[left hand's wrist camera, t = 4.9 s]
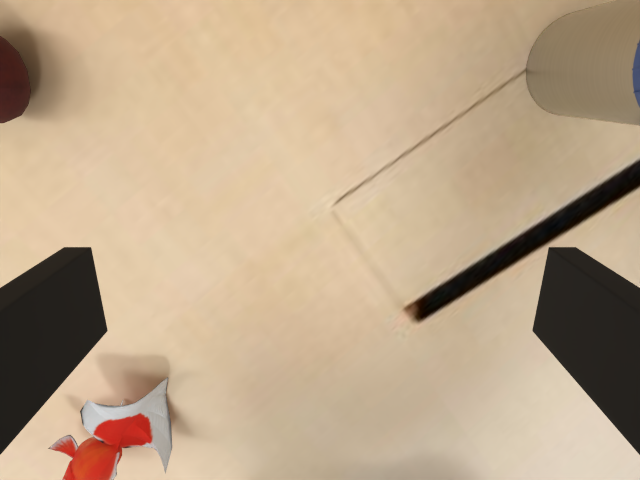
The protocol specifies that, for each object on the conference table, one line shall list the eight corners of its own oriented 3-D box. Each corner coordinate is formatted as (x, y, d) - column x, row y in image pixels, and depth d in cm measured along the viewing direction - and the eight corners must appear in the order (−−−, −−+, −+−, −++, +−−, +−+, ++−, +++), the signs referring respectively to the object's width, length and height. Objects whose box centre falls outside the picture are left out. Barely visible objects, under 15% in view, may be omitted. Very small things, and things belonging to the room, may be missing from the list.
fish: (4, 430, 44) (-1, 514, 36) (136, 331, 47) (156, 388, 40) (79, 470, 50) (88, 549, 42) (190, 380, 54) (216, 437, 46)
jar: (624, 102, 37) (811, 113, 23) (529, 125, 38) (653, 149, 24) (624, -1, 35) (836, -61, 20) (522, 25, 35) (658, -15, 21)
